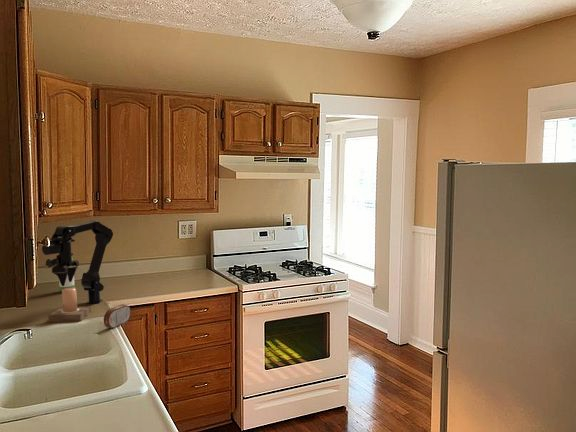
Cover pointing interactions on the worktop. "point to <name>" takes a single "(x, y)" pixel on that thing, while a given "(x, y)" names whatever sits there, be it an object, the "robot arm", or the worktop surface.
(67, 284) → the wine bottle
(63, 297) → the column
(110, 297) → the worktop surface
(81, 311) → the base
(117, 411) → the worktop surface
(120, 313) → the tin
